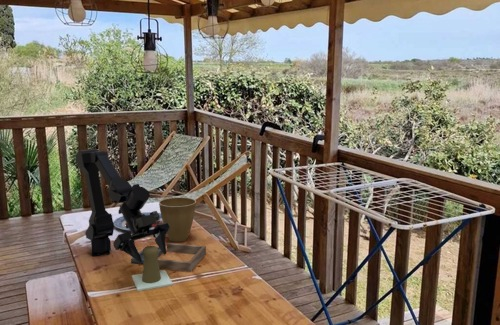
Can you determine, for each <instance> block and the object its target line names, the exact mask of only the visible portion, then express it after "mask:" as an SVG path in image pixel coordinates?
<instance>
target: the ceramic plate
mask: <svg viewBox="0 0 500 325" xmlns="http://www.w3.org/2000/svg"><path fill="white" fill-rule="evenodd" d="M151 212H152V211H151ZM151 212H148V211H147V212H141V213H142V214H145V215H146V216H147V215H150V213H151ZM158 214H159V217H160V220H157V221H156V222H157V223H156V224H152V227H151V228H150V230H152V229H154V228H155V227H156V225H157V224H161V223H163V221H162V217H161V212H158ZM113 223H114V228H117V229H120V230H123V231H130V229H129V228H126V226H125V225H127V223H126V221H125V219H124V217H123V215H121V216H119V217H118V218H116V219H115V220H113Z"/></svg>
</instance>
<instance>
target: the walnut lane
mask: <svg viewBox="0 0 500 325" xmlns="http://www.w3.org/2000/svg"><path fill="white" fill-rule="evenodd" d="M166 252H169V253H170V252H171V253H178V254H181V253H182V254H189V255H190V254H191V255H193V256H192V257H191V258H190V260H189V261H184V260H183V261H182V260H176V259H165V258H158V264H159V269H163V270H170V271H171V270H173V271H180V272H181V271H182V272H190V273H191V272H192V271H193V270H195V269H194V268H196V266H197V265H198V264H199V263H200V262H201V261H202V259H203V258H205V256H206V254H207V246H205V245H195V244H194V245H193V244H186V243H183V244H182V243H176V242H174V243H173V242H167V243H166Z"/></svg>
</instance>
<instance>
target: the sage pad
mask: <svg viewBox="0 0 500 325" xmlns="http://www.w3.org/2000/svg"><path fill="white" fill-rule="evenodd" d="M142 275H143V273H140V274H139V273H138V274H132V275H131V278H132V280H133V283H134V285H135V289H136V290H137V292H141V291H147V290H152V289H158V288H164V287H169V286H173V281H172V279H171V277H169V275H168V273H167V271H166V269H163V270H160V276H161V280H160V281H158V282H155V283H145V282H143V281H142Z"/></svg>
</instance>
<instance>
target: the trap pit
mask: <svg viewBox="0 0 500 325" xmlns="http://www.w3.org/2000/svg"><path fill="white" fill-rule="evenodd" d="M156 247H157V248H158V250H159V254H158V256H157V258H158V259H159V257H160V256H162V254H163V253H162V251H161V250H160V248H159V247H158V246H156ZM142 251H143V249H141V250H140V251H138V253H139V255H140V257H141V259H142V262H141V263H140V262H138V261H137V260H136V259H134V258H133V257H131V258H130V264H135V265H144V257H143V254H142Z"/></svg>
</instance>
